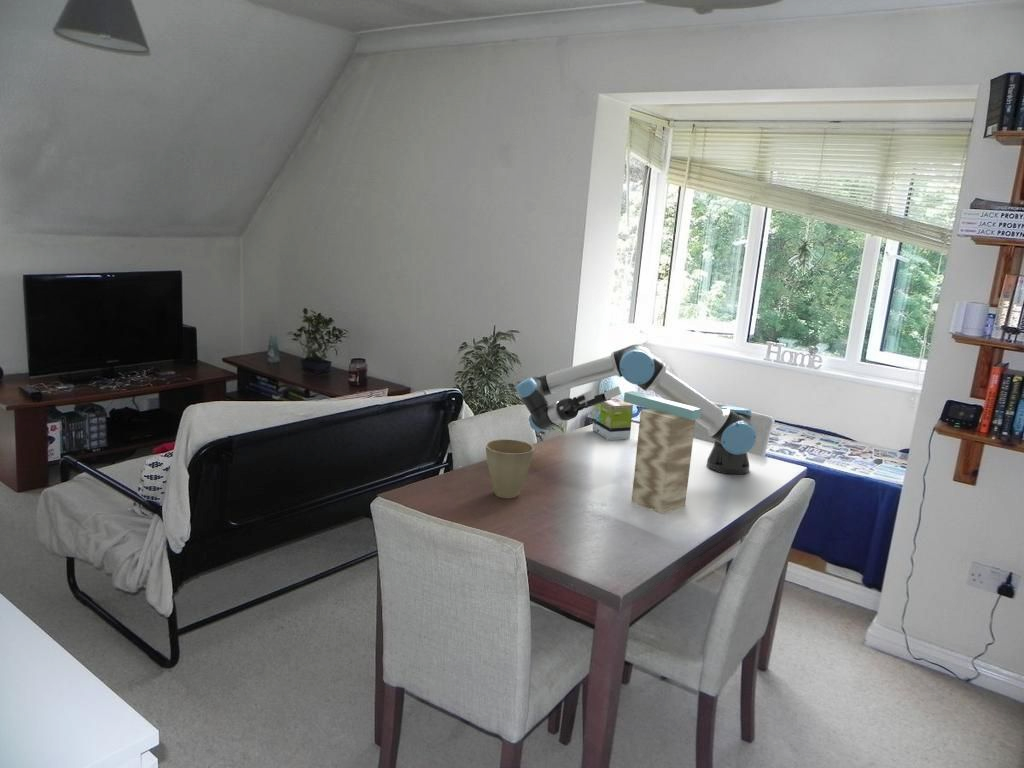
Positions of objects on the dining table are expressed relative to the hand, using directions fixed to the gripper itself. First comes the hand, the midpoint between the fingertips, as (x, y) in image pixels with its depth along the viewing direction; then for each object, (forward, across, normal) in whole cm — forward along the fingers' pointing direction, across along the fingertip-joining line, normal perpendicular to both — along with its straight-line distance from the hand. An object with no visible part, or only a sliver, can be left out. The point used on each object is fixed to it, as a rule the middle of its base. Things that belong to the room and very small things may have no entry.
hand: (606, 392), depth 261 cm
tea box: (-46, -48, -9) cm, 67 cm away
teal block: (+20, +2, -12) cm, 24 cm away
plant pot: (-20, +37, -24) cm, 48 cm away
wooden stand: (+8, +2, -40) cm, 41 cm away
